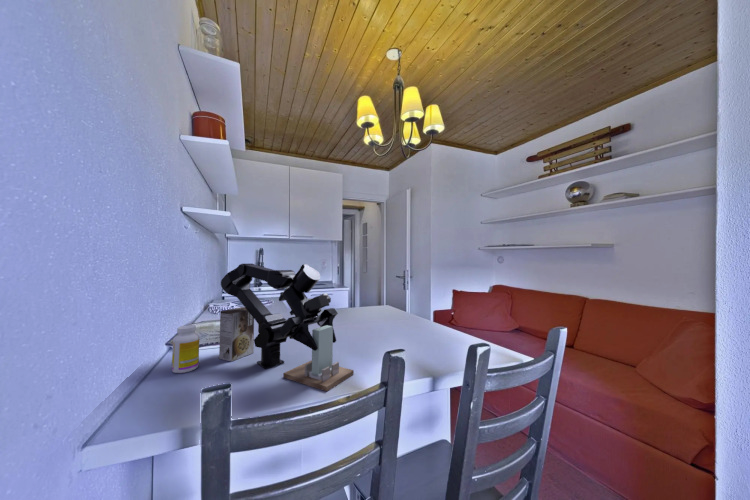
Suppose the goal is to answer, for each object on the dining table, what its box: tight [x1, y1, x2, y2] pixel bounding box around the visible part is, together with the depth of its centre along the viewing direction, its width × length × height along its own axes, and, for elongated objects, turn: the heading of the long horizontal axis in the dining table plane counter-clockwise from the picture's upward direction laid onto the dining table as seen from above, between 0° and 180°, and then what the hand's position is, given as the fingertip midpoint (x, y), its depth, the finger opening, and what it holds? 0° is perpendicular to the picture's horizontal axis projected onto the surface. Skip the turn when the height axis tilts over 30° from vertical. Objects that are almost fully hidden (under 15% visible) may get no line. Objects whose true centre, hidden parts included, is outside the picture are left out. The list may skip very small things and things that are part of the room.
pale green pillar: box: [309, 325, 334, 380], centre depth 75 cm, size 4×6×13 cm, turn 150°
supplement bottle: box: [171, 324, 200, 374], centre depth 81 cm, size 7×7×13 cm
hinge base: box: [282, 359, 355, 392], centre depth 77 cm, size 16×12×4 cm
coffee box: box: [218, 306, 255, 362], centre depth 92 cm, size 9×6×16 cm
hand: (326, 345), depth 74 cm, fingers open, 8 cm apart
